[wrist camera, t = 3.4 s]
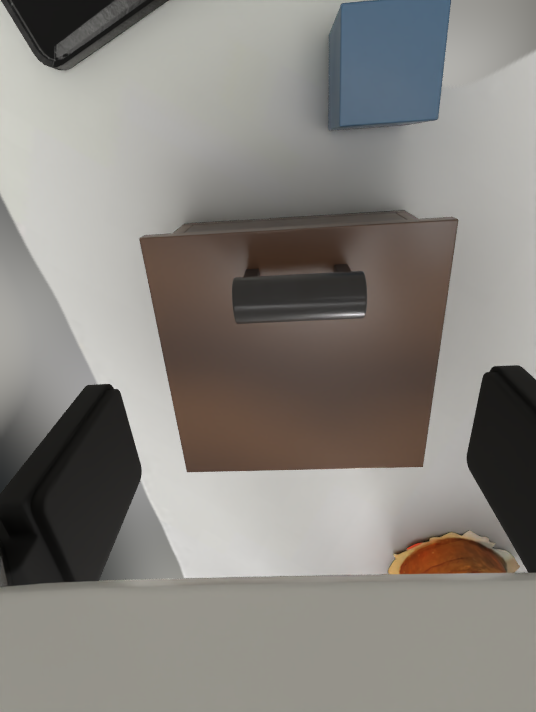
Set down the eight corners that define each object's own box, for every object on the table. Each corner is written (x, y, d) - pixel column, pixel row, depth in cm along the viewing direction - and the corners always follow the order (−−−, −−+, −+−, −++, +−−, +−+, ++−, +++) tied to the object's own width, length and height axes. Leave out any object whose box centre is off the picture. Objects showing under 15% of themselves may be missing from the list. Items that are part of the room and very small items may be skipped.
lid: (143, 235, 21) (100, 262, 16) (452, 216, 20) (507, 240, 15) (189, 464, 28) (168, 532, 23) (419, 458, 27) (449, 529, 22)
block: (414, 26, 24) (452, -8, 18) (407, 124, 26) (438, 119, 21) (328, 34, 24) (340, 2, 19) (328, 130, 26) (339, 127, 21)
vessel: (473, 501, 41) (618, 776, 23) (541, 571, 45) (706, 847, 27) (357, 562, 46) (403, 828, 28) (429, 620, 50) (508, 882, 32)
